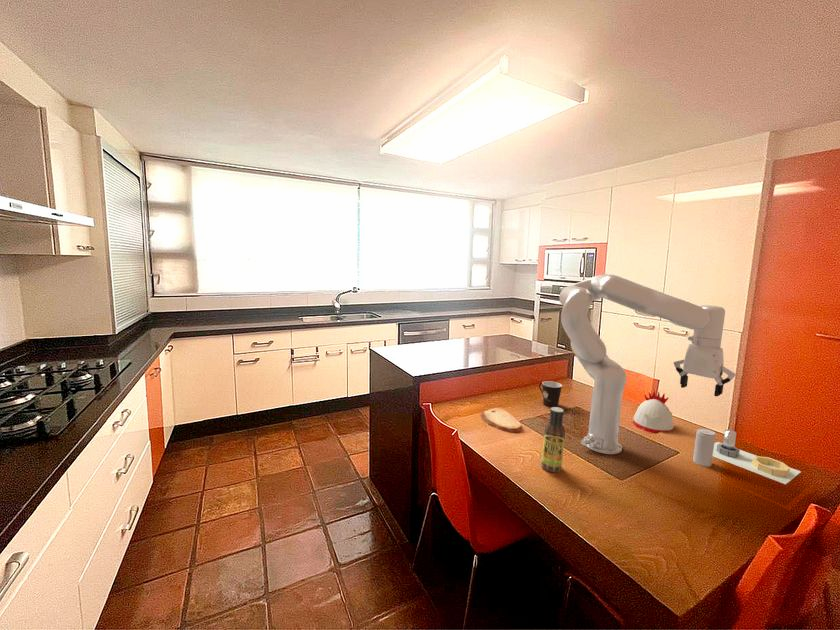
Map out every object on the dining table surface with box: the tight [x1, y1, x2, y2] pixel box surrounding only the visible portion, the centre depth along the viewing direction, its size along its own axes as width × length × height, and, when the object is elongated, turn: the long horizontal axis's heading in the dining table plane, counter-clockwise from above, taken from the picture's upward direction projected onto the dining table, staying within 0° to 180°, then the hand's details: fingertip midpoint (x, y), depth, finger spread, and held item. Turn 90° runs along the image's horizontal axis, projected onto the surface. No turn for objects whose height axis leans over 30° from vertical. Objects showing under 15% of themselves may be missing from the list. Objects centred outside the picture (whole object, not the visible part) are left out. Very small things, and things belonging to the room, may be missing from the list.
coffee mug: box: [538, 380, 563, 408], centre depth 170 cm, size 12×9×10 cm
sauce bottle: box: [541, 407, 566, 473], centre depth 114 cm, size 6×6×20 cm
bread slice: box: [480, 407, 524, 434], centre depth 150 cm, size 18×18×4 cm
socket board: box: [712, 441, 802, 485], centre depth 120 cm, size 14×22×3 cm, turn 30°
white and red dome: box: [632, 390, 674, 434], centre depth 147 cm, size 14×14×15 cm
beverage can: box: [692, 427, 716, 468], centre depth 118 cm, size 5×5×12 cm
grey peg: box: [722, 429, 737, 451], centre depth 124 cm, size 3×3×8 cm
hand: (700, 391), depth 124 cm, fingers open, 9 cm apart
